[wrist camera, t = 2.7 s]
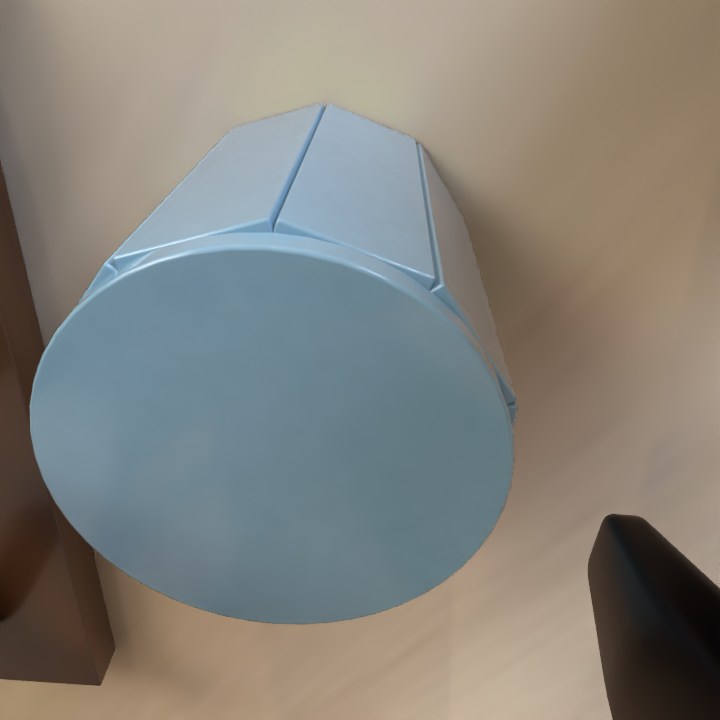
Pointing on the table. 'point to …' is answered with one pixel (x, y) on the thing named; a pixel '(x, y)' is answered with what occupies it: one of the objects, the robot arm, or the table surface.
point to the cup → (285, 382)
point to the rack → (38, 516)
